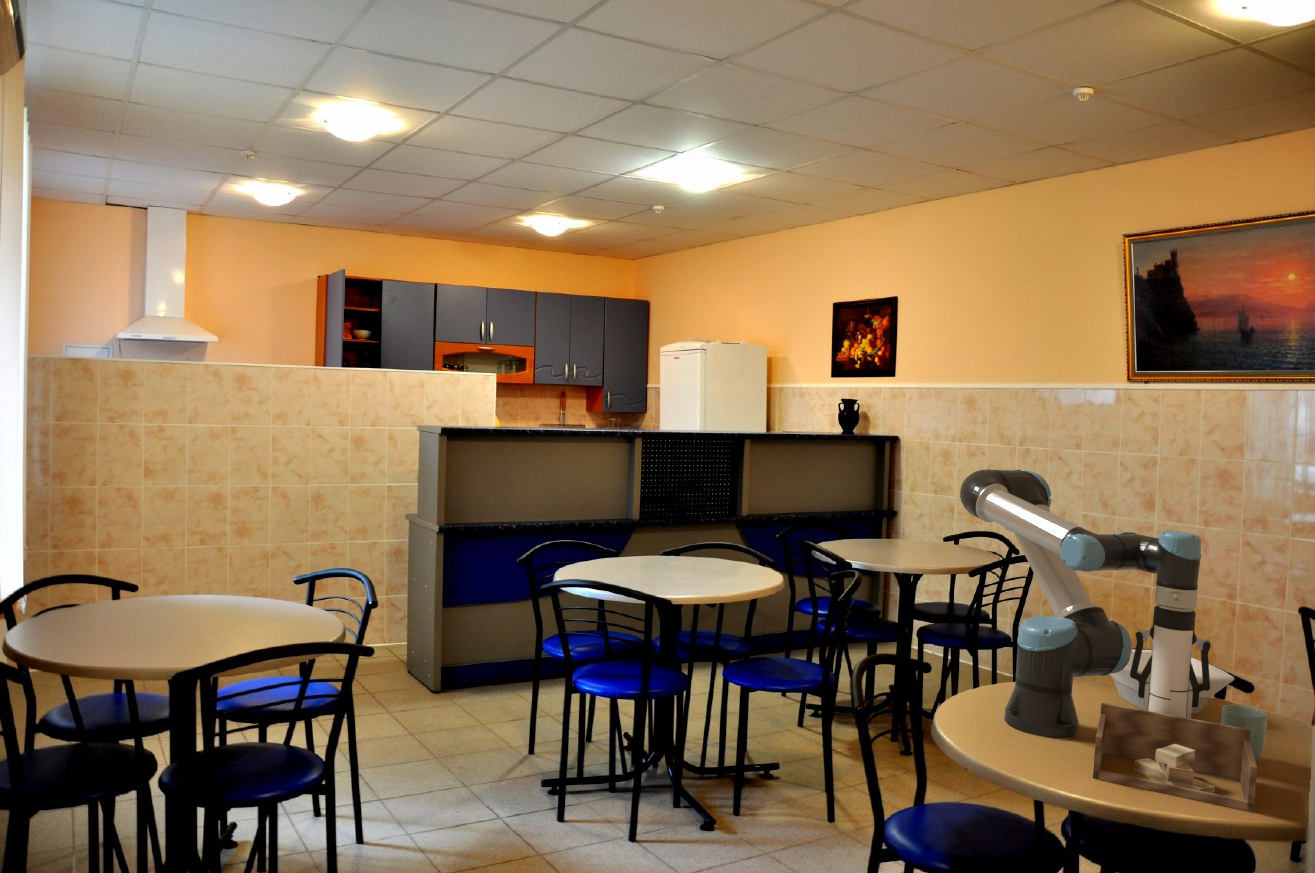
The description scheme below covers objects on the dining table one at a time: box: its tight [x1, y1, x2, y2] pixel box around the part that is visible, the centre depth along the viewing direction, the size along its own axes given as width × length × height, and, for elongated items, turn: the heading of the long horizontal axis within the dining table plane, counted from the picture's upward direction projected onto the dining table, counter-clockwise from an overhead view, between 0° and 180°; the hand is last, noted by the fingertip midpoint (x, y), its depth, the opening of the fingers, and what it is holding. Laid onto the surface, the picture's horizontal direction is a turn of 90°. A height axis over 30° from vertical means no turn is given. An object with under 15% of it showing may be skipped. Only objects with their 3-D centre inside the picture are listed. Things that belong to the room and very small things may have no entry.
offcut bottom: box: [1132, 758, 1215, 794], centre depth 181 cm, size 14×4×2 cm, turn 24°
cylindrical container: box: [1147, 625, 1193, 718], centre depth 195 cm, size 7×7×25 cm
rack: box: [1092, 702, 1258, 813], centre depth 182 cm, size 26×17×10 cm, turn 62°
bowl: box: [1109, 649, 1235, 715], centre depth 230 cm, size 24×25×10 cm
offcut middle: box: [1157, 748, 1194, 785], centre depth 181 cm, size 11×4×2 cm, turn 163°
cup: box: [1220, 704, 1268, 762], centre depth 195 cm, size 8×8×10 cm
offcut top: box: [1155, 744, 1195, 767], centre depth 180 cm, size 7×4×2 cm, turn 124°
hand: (1166, 717), depth 196 cm, fingers closed on cylindrical container, 7 cm apart
